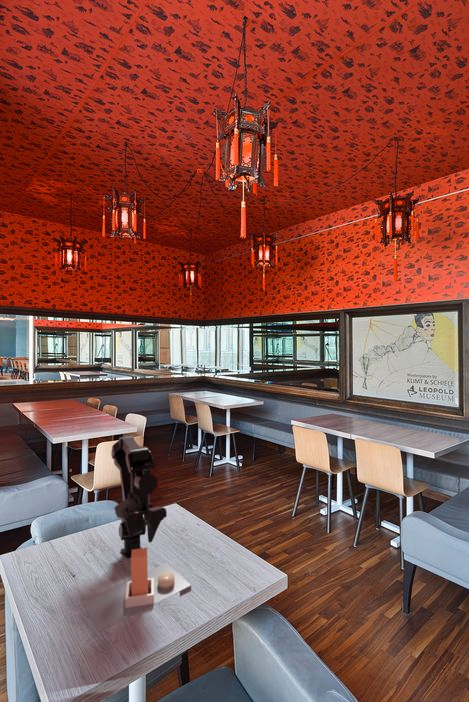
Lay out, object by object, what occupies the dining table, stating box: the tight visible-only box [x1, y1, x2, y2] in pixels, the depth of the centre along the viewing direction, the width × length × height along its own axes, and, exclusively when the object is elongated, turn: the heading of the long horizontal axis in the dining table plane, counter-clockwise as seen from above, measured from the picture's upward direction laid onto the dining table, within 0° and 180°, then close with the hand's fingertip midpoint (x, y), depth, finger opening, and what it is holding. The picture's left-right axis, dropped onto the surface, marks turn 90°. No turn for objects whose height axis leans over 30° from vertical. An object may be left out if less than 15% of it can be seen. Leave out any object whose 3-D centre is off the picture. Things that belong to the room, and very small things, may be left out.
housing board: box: [80, 562, 192, 633], centre depth 110 cm, size 15×28×4 cm, turn 130°
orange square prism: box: [130, 547, 149, 597], centre depth 108 cm, size 4×4×13 cm
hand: (140, 539), depth 118 cm, fingers open, 9 cm apart
